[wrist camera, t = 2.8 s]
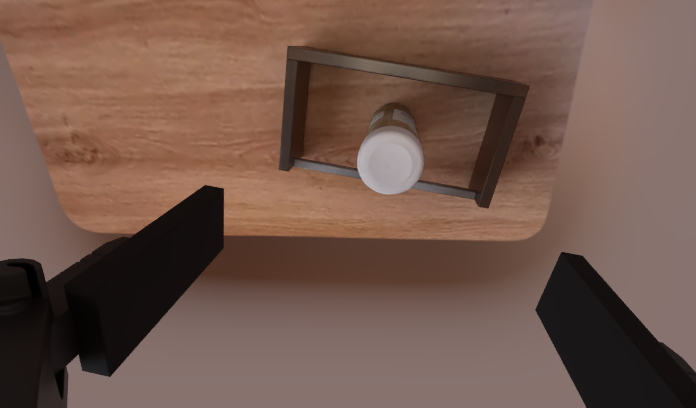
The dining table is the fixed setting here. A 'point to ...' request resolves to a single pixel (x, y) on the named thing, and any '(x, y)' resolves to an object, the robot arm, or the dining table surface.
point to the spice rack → (507, 90)
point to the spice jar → (391, 151)
